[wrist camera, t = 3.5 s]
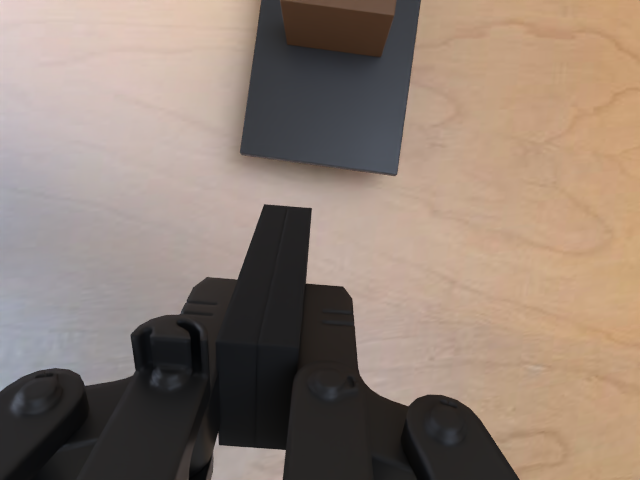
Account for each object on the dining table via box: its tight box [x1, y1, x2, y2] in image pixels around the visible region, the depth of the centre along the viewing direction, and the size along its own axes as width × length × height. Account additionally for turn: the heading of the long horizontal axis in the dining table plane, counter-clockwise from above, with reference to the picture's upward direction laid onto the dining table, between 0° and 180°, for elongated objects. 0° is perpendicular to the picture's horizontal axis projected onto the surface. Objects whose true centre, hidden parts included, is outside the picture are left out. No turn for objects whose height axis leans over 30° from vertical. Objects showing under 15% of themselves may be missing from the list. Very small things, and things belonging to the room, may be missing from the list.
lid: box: [240, 0, 421, 176], centre depth 25 cm, size 16×10×6 cm, turn 172°
